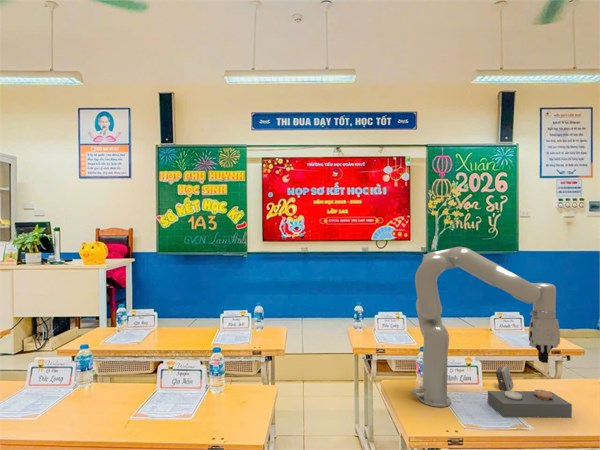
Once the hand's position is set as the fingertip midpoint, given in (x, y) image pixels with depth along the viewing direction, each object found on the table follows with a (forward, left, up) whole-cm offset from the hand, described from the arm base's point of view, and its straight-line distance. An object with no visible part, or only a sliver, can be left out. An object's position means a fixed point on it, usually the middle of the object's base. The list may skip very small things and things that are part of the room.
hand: (543, 361), depth 155 cm
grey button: (-12, 0, -18) cm, 21 cm away
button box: (-6, 0, -19) cm, 20 cm away
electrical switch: (-3, +22, -19) cm, 29 cm away
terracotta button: (0, 0, -17) cm, 17 cm away
